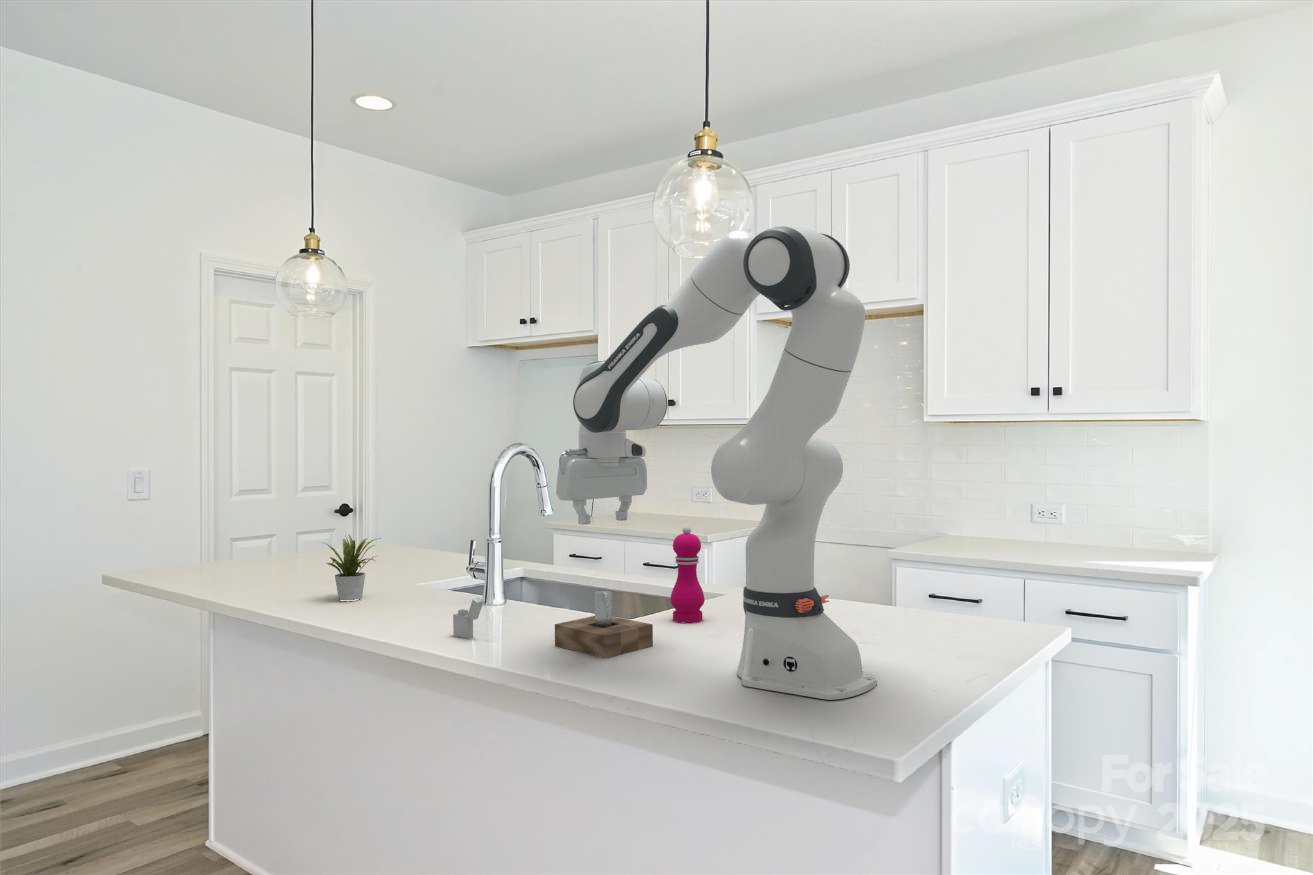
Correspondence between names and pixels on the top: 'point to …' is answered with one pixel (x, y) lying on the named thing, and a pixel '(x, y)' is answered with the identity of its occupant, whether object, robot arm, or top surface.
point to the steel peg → (603, 609)
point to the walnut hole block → (604, 636)
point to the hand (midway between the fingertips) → (603, 522)
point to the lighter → (466, 619)
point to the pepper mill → (687, 579)
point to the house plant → (350, 570)
